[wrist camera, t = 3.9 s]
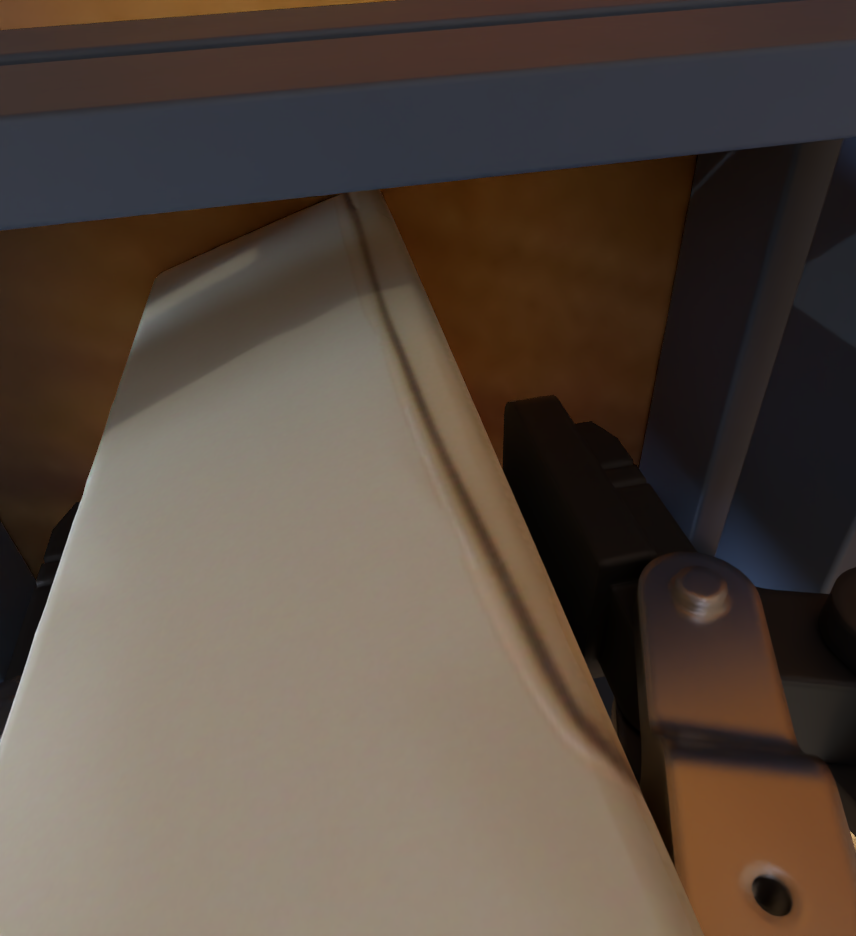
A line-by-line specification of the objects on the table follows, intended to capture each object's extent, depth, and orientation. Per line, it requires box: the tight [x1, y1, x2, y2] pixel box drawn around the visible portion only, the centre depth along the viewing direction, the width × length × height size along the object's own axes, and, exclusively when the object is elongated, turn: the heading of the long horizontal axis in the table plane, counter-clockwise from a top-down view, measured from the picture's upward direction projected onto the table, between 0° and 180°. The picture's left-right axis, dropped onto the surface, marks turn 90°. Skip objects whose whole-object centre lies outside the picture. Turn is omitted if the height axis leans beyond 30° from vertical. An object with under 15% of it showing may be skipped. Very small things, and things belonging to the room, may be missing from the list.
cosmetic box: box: [0, 189, 704, 936], centre depth 9 cm, size 6×4×12 cm
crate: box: [0, 0, 856, 720], centre depth 11 cm, size 16×12×6 cm
